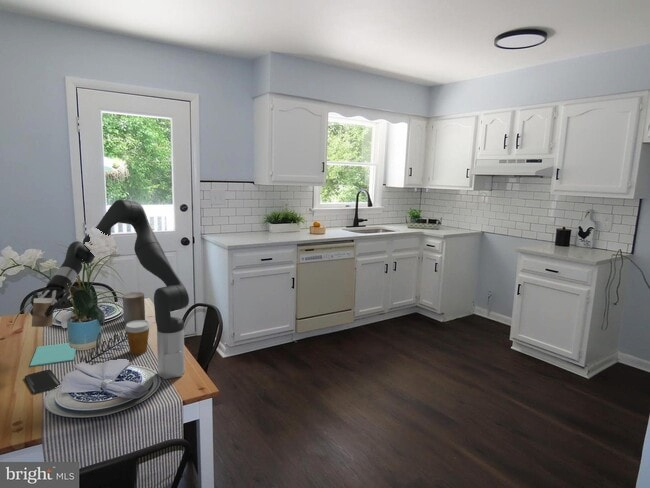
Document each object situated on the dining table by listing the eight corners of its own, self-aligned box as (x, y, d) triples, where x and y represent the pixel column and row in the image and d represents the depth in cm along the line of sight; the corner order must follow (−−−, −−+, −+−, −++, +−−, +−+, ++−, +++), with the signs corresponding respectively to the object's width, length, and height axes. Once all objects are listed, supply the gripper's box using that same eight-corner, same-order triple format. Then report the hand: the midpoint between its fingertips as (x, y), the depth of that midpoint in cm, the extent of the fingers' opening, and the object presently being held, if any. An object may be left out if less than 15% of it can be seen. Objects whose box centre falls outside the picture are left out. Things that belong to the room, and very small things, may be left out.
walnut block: (52, 325, 153) (54, 298, 154) (44, 326, 149) (46, 299, 149) (39, 324, 153) (42, 297, 154) (31, 326, 149) (33, 298, 149)
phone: (49, 368, 151) (61, 384, 141) (50, 371, 151) (61, 387, 141) (23, 375, 146) (33, 392, 135) (24, 378, 146) (34, 395, 136)
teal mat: (73, 360, 160) (73, 359, 160) (29, 366, 154) (29, 365, 154) (77, 342, 176) (77, 341, 176) (37, 347, 169) (37, 346, 169)
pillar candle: (149, 319, 206) (148, 290, 204) (136, 326, 197) (135, 295, 195) (132, 317, 208) (131, 288, 206) (119, 323, 199) (117, 293, 197)
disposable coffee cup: (142, 344, 177) (141, 318, 175) (155, 350, 172) (155, 323, 170) (121, 351, 169) (120, 324, 167) (134, 358, 164) (133, 329, 162)
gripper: (40, 273, 160) (14, 307, 147) (77, 274, 160) (55, 309, 147) (48, 286, 164) (23, 321, 152) (84, 288, 165) (63, 322, 152)
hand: (39, 314), depth 149 cm, fingers closed on walnut block, 4 cm apart
